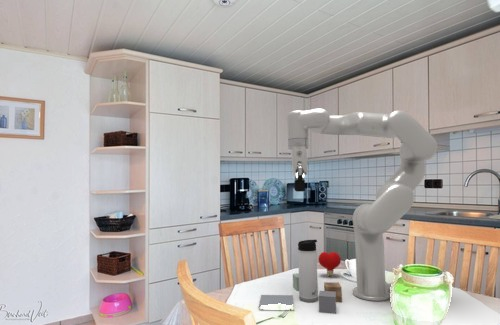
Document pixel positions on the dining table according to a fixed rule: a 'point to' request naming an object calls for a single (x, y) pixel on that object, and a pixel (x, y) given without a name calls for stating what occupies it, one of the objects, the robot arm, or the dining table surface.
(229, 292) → the dining table surface
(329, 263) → the red heart figurine
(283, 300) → the coaster mat
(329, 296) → the charcoal block
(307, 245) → the travel mug
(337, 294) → the walnut block
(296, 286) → the sage green block
